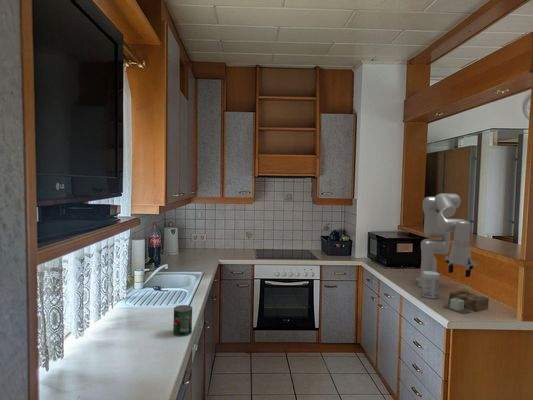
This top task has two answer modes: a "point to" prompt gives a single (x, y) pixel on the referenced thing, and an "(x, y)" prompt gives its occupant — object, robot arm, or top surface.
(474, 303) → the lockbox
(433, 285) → the supplement tub
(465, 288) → the t bolt
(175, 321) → the canned tomato
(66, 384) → the top surface
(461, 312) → the mat
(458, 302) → the cover
